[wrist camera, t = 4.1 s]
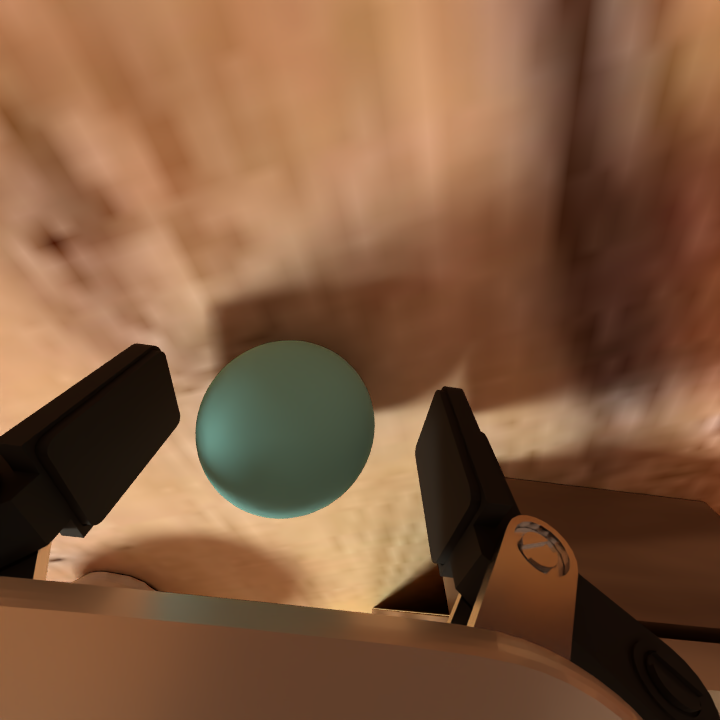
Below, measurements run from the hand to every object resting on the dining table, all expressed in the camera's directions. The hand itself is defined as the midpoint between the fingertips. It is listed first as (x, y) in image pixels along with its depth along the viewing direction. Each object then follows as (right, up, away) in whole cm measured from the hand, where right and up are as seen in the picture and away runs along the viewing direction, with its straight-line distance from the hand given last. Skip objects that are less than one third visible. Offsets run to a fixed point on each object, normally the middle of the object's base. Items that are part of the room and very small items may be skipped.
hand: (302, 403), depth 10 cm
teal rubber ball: (0, +1, +1) cm, 2 cm away
